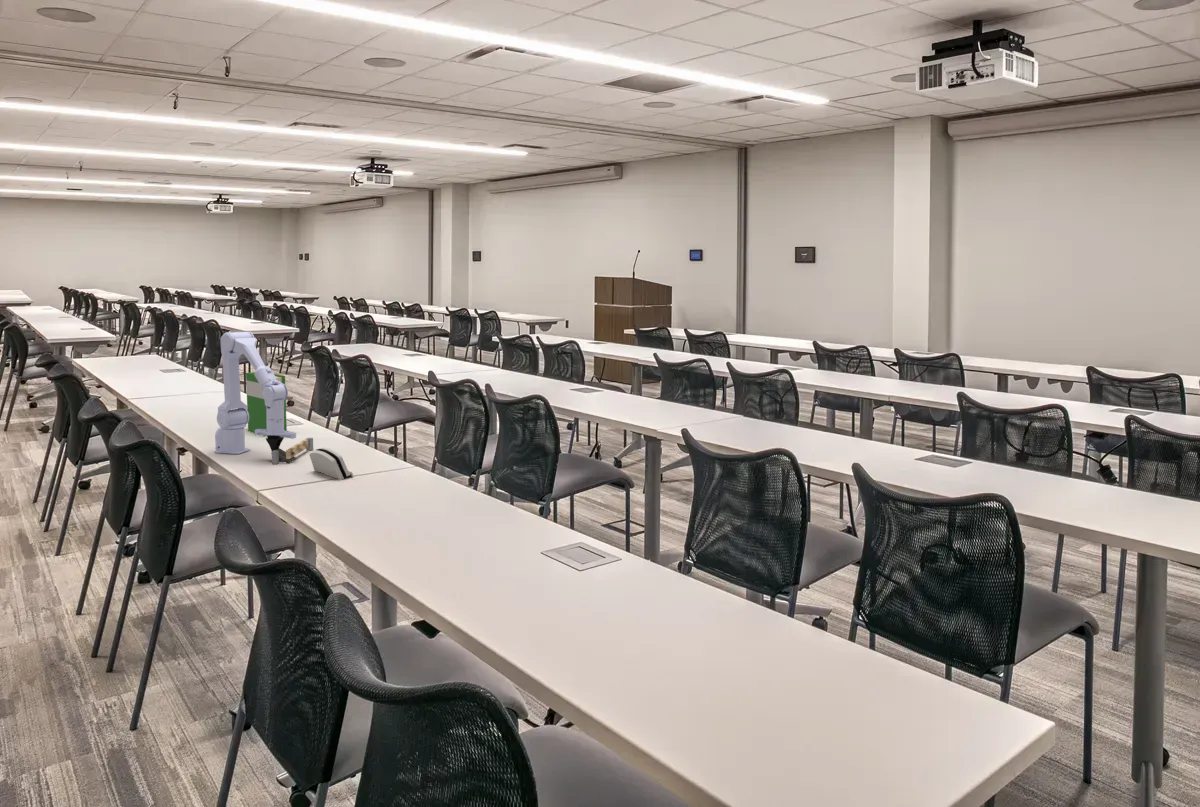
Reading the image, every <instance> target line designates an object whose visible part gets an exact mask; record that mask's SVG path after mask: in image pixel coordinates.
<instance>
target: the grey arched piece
mask: <svg viewBox="0 0 1200 807" xmlns="http://www.w3.org/2000/svg"><path fill="white" fill-rule="evenodd" d="M308 455H309V457H310V458H309V459H310V461H311V464H312V467H313V470H315V471H314V472H317V471H318V472H317V473H319V472H321V473H320V474H322V473H324V474H323V475H325V474H326V475H325V476H328V475H330V476H329V477H331V476H332V478H334V477H335V479H337V478H338V479H337V480H340V479H341V480H343V479H344V478H345V477H350V478H354V474H353V472H352V471H349V470H348V468H347V465H346V462H345V460H344V459H343V457H342V455H341V454H339V453H338V452H337V451H335V450H334V449H331V448H328V447H319V448H317V449H315V450H312V451H310V453H309V454H308Z"/></svg>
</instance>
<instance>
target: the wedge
mask: <svg viewBox="0 0 1200 807" xmlns="http://www.w3.org/2000/svg"><path fill="white" fill-rule="evenodd" d="M276 451H278V452H279V462H287V463H286V464H290V462H291V463H293V462H294V460H295V461H297V458H296V456H294V457H292V458H290V459H286V450H283V449H282V448H280V447H279V449H276ZM271 455H272V452H271ZM292 461H293V462H292Z"/></svg>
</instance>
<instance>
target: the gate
mask: <svg viewBox="0 0 1200 807" xmlns="http://www.w3.org/2000/svg"><path fill="white" fill-rule="evenodd" d="M306 448H308V439H306V438H305V439H303V440H301V441H300V442H298V443H296V444H294V445H293V446H292V447H290V448H288V449H286V450H285V452H286V459H290V458H292V457H296V456H297V455H298V454H300V453H302V452H303V451H305V450H306Z"/></svg>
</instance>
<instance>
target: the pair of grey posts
mask: <svg viewBox="0 0 1200 807" xmlns="http://www.w3.org/2000/svg"><path fill="white" fill-rule="evenodd" d="M305 439H308V448H306V449H305V450H311V451H314V438H313V437H307V438H305ZM271 453H272V454H271V464H272V465H278V463H279V452H278V451H276V450H274V451H271Z"/></svg>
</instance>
